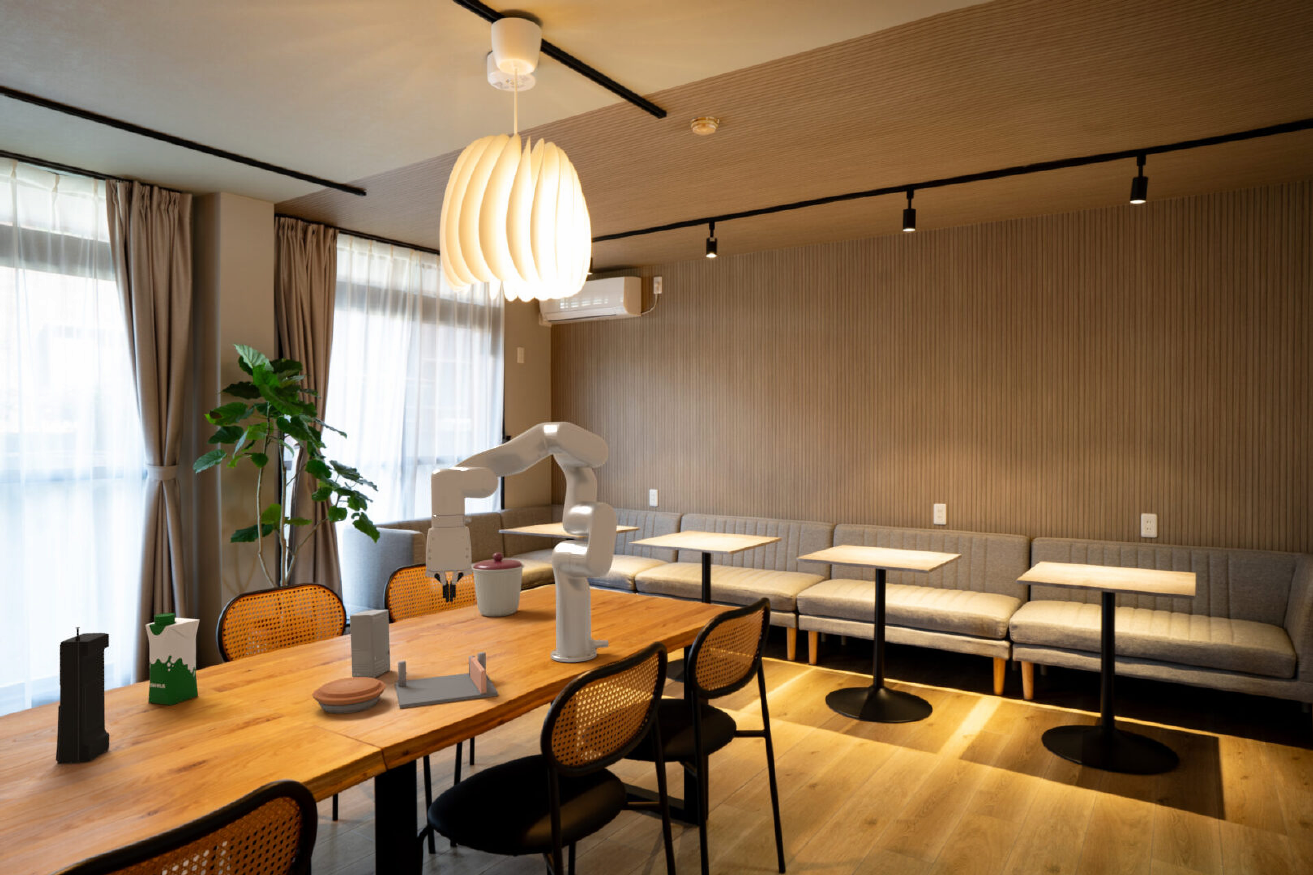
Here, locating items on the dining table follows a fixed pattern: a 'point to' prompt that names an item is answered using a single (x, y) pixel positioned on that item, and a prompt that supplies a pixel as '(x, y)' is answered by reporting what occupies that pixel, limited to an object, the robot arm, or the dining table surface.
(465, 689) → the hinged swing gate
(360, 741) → the dining table surface
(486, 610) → the canister
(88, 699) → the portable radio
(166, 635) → the milk carton
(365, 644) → the skincare box
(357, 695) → the pie
